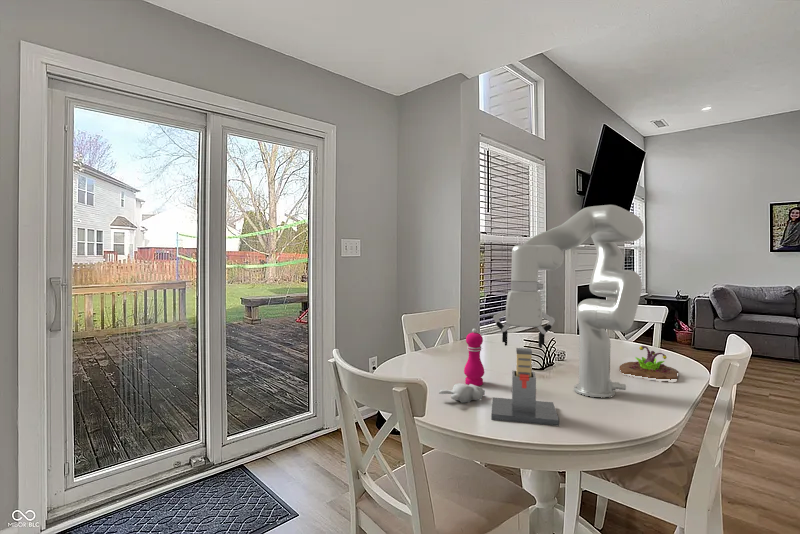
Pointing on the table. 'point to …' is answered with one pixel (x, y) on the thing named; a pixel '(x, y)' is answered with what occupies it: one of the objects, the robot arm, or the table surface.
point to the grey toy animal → (464, 392)
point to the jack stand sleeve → (524, 404)
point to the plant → (649, 367)
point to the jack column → (524, 361)
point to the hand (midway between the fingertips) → (522, 345)
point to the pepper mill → (474, 359)
